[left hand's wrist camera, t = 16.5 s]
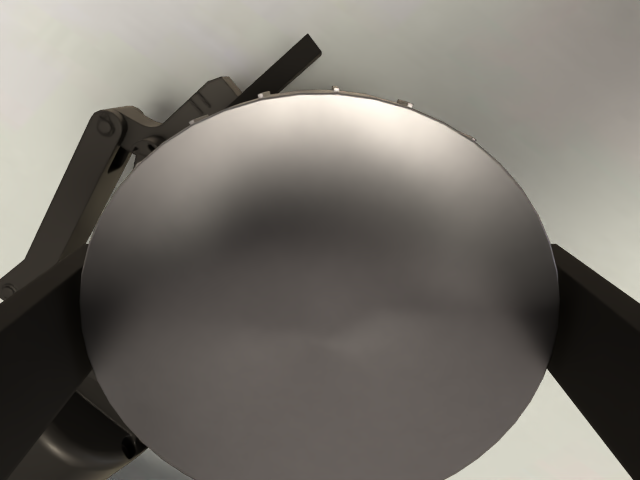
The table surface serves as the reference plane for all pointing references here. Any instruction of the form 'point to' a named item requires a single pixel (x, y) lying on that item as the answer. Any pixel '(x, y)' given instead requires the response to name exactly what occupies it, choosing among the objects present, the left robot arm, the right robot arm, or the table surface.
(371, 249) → the lid
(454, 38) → the table surface
